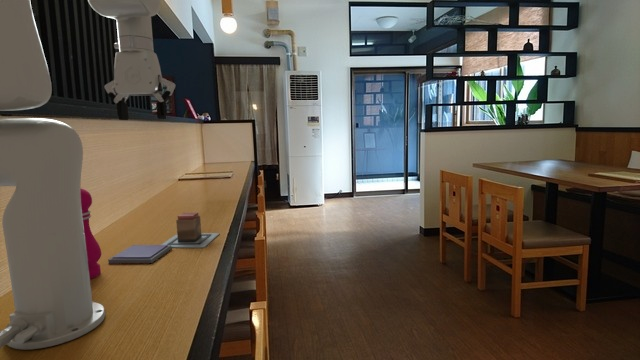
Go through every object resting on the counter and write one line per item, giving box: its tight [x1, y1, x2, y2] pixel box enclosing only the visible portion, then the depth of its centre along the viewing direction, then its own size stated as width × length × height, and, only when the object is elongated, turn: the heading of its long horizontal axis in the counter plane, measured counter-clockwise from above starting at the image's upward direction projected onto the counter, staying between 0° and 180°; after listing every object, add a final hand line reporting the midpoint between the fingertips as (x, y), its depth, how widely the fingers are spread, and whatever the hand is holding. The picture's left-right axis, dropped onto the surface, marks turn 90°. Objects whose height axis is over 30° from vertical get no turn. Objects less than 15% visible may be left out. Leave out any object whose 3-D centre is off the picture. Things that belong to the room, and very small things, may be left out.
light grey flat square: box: [160, 232, 220, 249], centre depth 101 cm, size 12×12×1 cm
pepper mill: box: [80, 187, 102, 280], centre depth 77 cm, size 7×7×20 cm
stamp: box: [175, 211, 202, 242], centre depth 101 cm, size 5×5×7 cm
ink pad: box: [107, 244, 172, 265], centre depth 90 cm, size 10×10×1 cm
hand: (142, 119), depth 93 cm, fingers open, 9 cm apart
